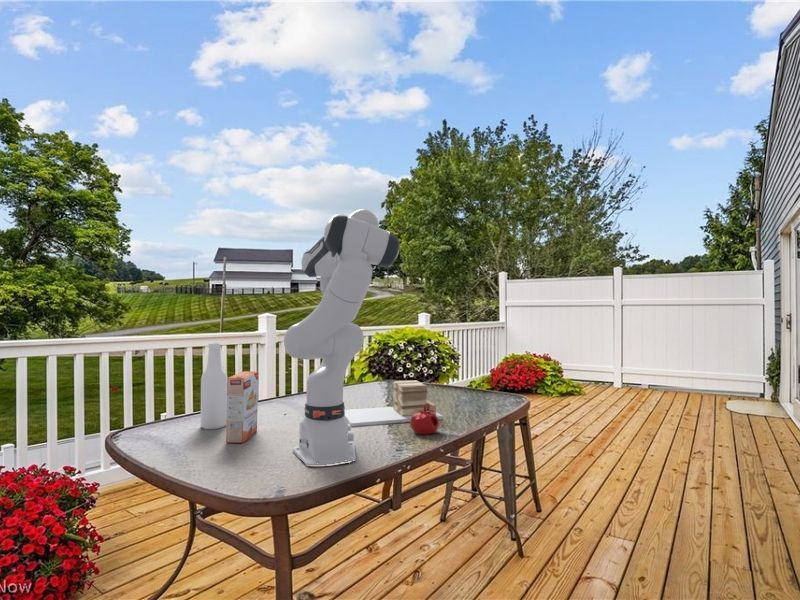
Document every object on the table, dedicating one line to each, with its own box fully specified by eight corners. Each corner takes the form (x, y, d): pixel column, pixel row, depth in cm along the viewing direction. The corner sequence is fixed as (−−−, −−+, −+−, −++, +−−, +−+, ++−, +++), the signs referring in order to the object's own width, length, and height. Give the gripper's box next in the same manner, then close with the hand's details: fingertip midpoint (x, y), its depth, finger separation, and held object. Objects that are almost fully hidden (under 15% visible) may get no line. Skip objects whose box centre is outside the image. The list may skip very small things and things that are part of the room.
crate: (427, 413, 178) (427, 385, 178) (402, 415, 175) (402, 387, 175) (416, 406, 190) (416, 380, 190) (392, 408, 187) (392, 381, 187)
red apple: (410, 436, 154) (410, 408, 154) (410, 428, 164) (410, 402, 164) (439, 437, 154) (439, 409, 154) (437, 428, 164) (438, 402, 164)
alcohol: (204, 423, 167) (204, 341, 167) (229, 422, 169) (229, 341, 169) (197, 430, 159) (198, 344, 158) (224, 429, 160) (225, 343, 160)
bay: (442, 419, 176) (442, 405, 176) (351, 426, 165) (351, 412, 165) (424, 407, 195) (424, 395, 195) (340, 413, 184) (340, 400, 184)
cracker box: (244, 443, 145) (244, 377, 144) (225, 443, 145) (225, 377, 145) (258, 431, 159) (259, 370, 158) (241, 430, 159) (241, 370, 159)
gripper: (345, 285, 168) (344, 323, 168) (335, 287, 187) (335, 320, 187) (328, 285, 166) (327, 323, 166) (319, 286, 185) (319, 320, 185)
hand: (331, 322), depth 177 cm, fingers closed
